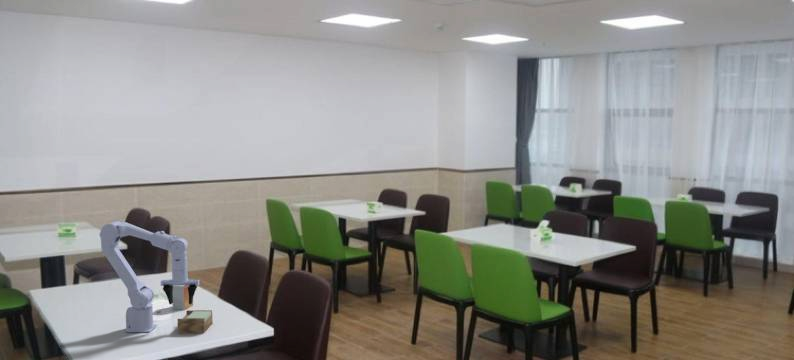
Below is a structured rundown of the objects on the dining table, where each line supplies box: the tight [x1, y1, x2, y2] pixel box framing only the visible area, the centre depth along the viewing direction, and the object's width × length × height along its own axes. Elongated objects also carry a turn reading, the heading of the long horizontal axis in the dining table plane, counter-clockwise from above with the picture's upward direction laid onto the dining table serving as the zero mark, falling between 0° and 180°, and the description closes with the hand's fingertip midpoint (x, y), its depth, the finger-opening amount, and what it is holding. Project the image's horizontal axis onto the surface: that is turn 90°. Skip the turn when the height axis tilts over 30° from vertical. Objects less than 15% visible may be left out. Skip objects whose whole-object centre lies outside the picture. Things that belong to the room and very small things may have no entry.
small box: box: [172, 285, 194, 311], centre depth 287 cm, size 8×6×10 cm
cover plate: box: [186, 311, 211, 322], centre depth 259 cm, size 7×9×2 cm
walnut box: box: [177, 309, 213, 334], centre depth 259 cm, size 10×12×6 cm
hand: (180, 303), depth 258 cm, fingers open, 7 cm apart
